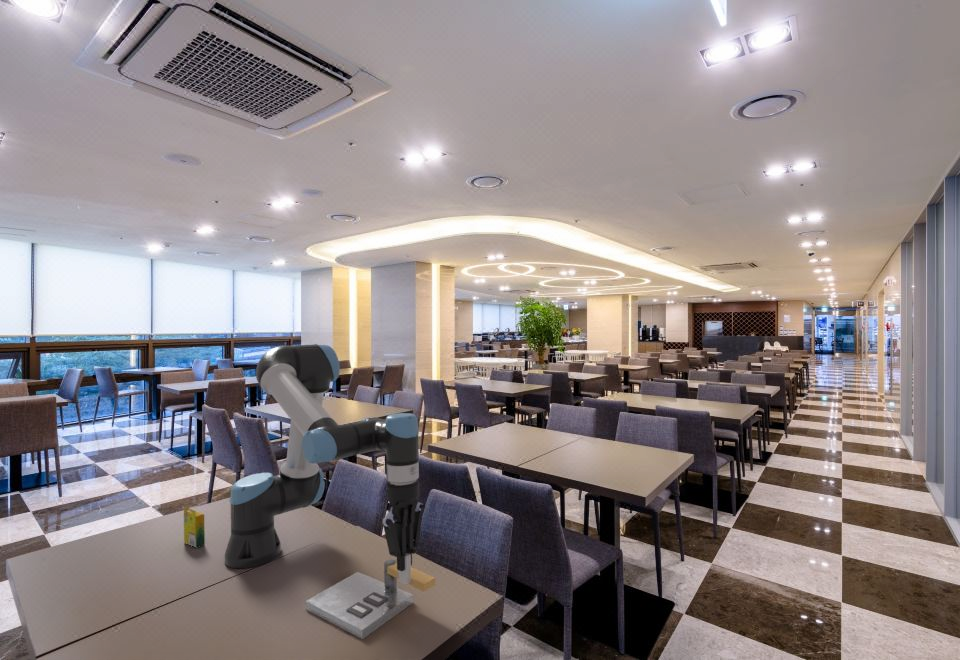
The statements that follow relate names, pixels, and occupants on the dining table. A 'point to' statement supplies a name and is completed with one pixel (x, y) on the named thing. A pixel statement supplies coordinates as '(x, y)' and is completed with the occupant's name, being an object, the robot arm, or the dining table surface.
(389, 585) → the hinge post
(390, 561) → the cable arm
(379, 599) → the label
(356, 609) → the label
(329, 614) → the plate
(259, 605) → the dining table surface
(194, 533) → the crayon box
